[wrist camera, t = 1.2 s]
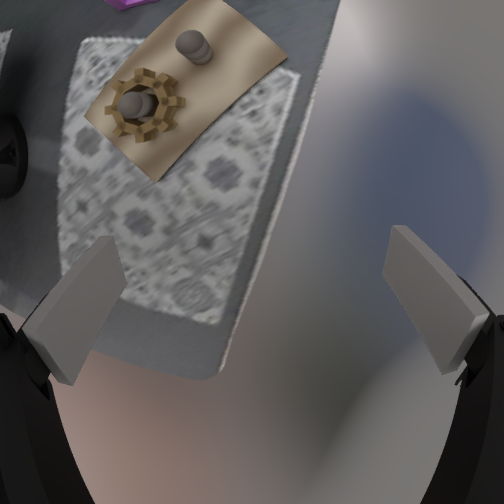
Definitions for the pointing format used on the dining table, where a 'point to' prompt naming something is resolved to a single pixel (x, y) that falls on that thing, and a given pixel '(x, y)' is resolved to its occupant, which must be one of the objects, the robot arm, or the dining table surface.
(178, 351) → the dining table surface
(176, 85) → the gear board
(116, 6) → the bracket
